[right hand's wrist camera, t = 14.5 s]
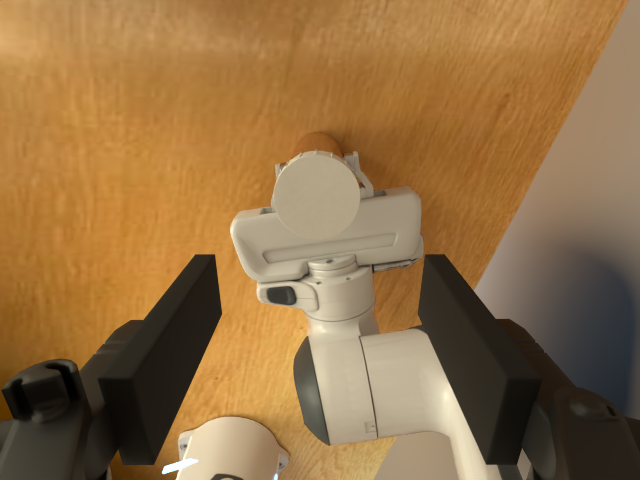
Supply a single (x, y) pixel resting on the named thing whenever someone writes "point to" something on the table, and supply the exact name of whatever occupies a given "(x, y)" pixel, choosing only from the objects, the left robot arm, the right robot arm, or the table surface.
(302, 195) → the lid
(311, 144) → the jar
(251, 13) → the table surface
